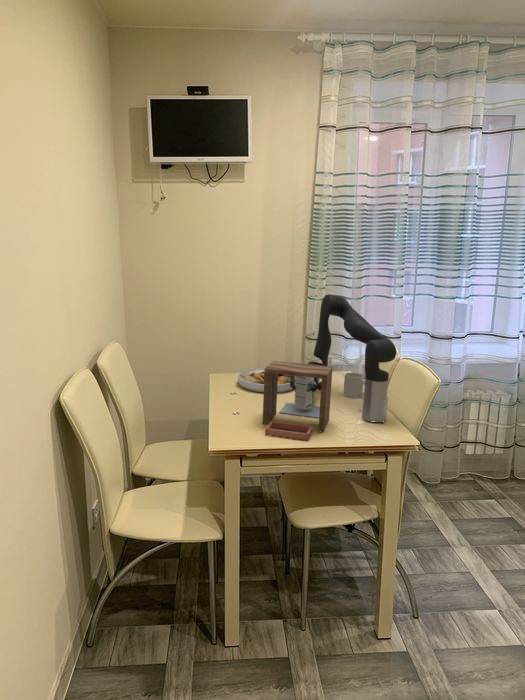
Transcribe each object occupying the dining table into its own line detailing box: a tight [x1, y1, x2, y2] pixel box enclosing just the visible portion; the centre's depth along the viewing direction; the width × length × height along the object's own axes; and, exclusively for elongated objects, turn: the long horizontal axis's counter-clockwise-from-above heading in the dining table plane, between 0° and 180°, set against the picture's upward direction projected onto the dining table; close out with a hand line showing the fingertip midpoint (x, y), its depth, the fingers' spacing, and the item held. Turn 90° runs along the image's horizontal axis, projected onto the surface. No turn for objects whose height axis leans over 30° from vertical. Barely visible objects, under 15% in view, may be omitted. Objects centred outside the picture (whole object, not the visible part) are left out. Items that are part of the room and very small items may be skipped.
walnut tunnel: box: [262, 360, 334, 433], centre depth 204 cm, size 14×24×22 cm, turn 74°
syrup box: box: [294, 376, 314, 410], centre depth 217 cm, size 6×6×14 cm
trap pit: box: [264, 420, 314, 442], centre depth 194 cm, size 9×16×2 cm, turn 74°
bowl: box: [237, 368, 296, 394], centre depth 256 cm, size 30×30×8 cm
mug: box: [343, 372, 365, 399], centre depth 244 cm, size 11×10×10 cm
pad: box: [278, 402, 320, 419], centre depth 220 cm, size 14×18×1 cm
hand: (303, 388), depth 215 cm, fingers closed on syrup box, 7 cm apart
